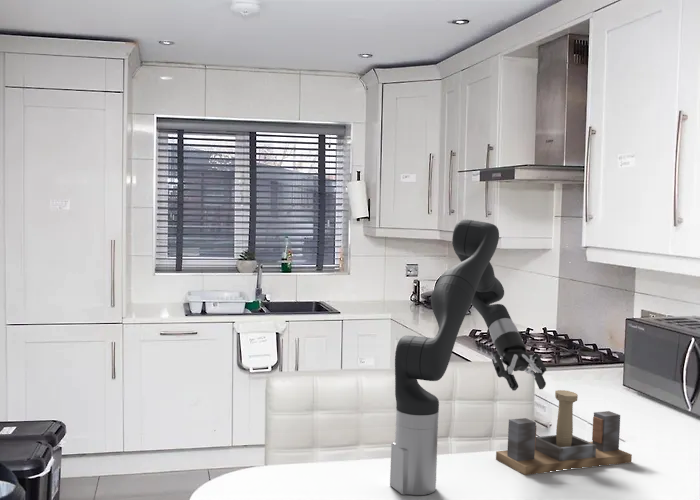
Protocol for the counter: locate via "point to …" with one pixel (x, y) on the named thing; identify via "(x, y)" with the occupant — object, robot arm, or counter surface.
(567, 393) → the handle
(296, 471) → the counter surface
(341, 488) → the counter surface
